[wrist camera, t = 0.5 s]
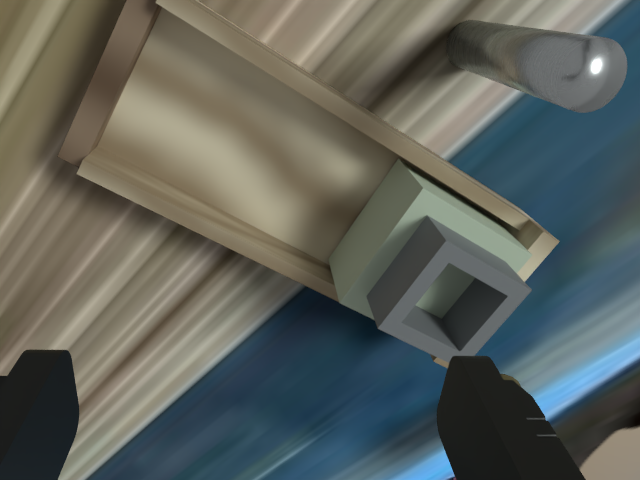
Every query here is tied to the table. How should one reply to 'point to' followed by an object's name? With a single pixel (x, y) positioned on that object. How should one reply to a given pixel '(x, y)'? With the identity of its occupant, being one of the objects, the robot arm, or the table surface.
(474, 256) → the square socket block
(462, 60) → the peg
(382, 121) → the bay
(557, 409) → the table surface
